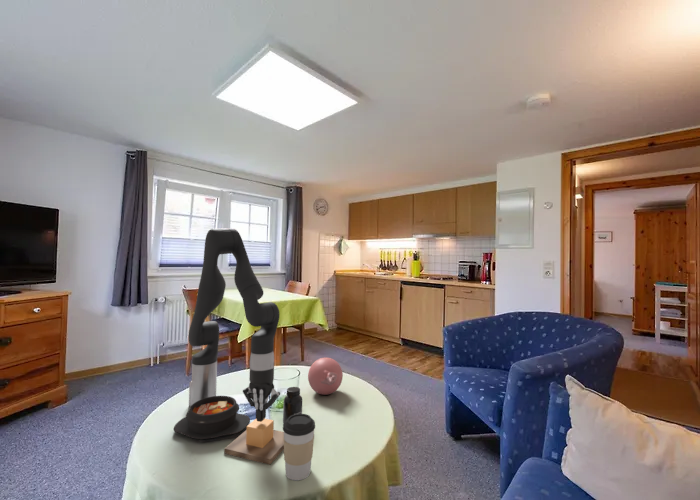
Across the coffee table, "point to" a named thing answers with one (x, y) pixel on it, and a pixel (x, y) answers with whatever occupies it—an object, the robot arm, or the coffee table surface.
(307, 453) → the coffee cup
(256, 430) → the peach cube
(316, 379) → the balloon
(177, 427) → the casserole
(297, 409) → the supplement bottle
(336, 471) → the coffee table surface
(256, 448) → the post stand
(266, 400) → the robot arm
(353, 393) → the coffee table surface
